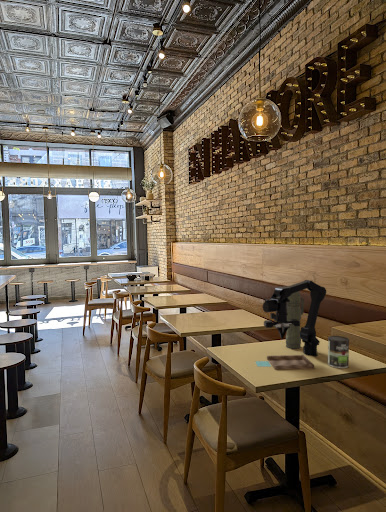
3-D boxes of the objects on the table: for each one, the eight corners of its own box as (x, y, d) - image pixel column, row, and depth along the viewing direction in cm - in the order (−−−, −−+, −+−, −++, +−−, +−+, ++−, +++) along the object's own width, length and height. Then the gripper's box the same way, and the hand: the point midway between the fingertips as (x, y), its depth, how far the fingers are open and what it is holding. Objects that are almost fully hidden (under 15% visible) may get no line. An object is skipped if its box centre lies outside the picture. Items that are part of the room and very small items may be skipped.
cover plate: (268, 363, 200) (268, 361, 200) (271, 368, 192) (271, 366, 192) (255, 363, 200) (255, 361, 200) (257, 368, 192) (257, 366, 192)
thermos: (305, 348, 224) (306, 290, 223) (287, 349, 223) (287, 290, 221) (299, 344, 233) (299, 288, 231) (281, 345, 231) (281, 288, 229)
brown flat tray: (303, 359, 205) (303, 354, 205) (314, 369, 189) (314, 365, 189) (266, 360, 204) (267, 355, 204) (274, 370, 188) (274, 365, 188)
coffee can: (352, 367, 191) (353, 340, 191) (334, 369, 190) (334, 341, 189) (341, 361, 201) (342, 335, 201) (323, 362, 200) (324, 336, 199)
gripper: (293, 306, 213) (293, 334, 214) (261, 308, 212) (261, 335, 213) (300, 310, 202) (300, 339, 203) (266, 312, 201) (266, 341, 202)
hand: (282, 338), depth 205 cm, fingers closed
